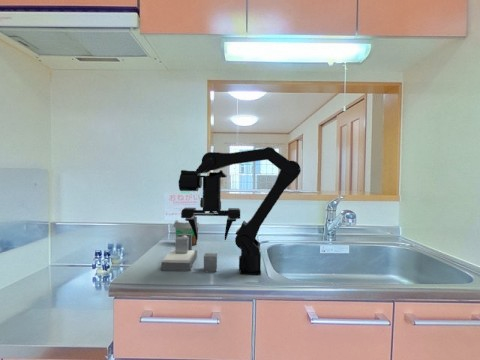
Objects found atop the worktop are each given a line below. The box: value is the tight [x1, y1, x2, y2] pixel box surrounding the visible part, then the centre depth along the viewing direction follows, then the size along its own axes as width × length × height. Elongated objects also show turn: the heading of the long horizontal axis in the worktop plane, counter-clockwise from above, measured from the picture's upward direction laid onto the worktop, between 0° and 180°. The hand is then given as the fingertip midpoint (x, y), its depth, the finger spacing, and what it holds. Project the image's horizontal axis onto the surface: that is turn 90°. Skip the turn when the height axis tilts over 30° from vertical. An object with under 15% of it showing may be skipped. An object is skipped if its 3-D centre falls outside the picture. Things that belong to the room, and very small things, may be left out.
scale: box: [161, 234, 198, 272], centre depth 112 cm, size 9×17×8 cm, turn 0°
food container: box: [173, 219, 200, 247], centre depth 139 cm, size 12×6×10 cm, turn 62°
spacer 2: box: [203, 252, 218, 273], centre depth 105 cm, size 4×4×5 cm
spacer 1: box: [174, 237, 189, 254], centre depth 114 cm, size 4×4×5 cm
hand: (211, 239), depth 105 cm, fingers open, 9 cm apart
